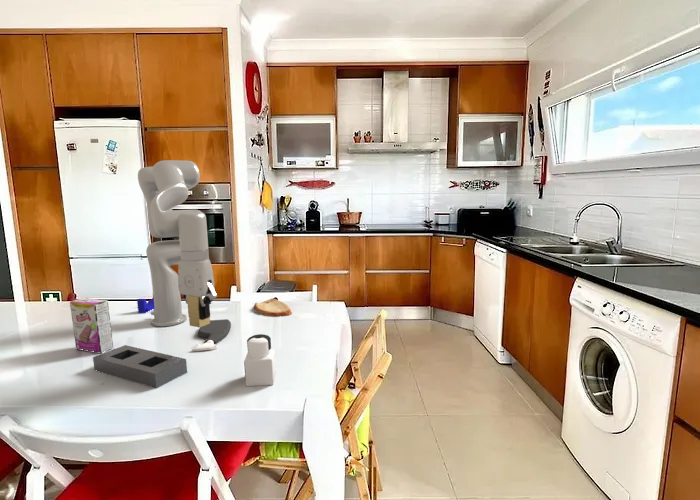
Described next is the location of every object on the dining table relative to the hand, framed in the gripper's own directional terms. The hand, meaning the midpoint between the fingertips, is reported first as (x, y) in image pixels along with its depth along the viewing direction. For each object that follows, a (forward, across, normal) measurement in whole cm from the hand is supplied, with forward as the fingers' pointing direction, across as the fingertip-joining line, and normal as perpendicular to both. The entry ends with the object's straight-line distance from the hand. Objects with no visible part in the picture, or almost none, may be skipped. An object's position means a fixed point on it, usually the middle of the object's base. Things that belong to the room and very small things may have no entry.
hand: (199, 316), depth 121 cm
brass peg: (+2, 0, 0) cm, 2 cm away
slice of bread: (+15, -13, +51) cm, 55 cm away
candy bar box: (+15, -40, -7) cm, 44 cm away
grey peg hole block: (+14, -11, -12) cm, 22 cm away
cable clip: (+16, -64, +31) cm, 73 cm away
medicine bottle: (+14, +24, -2) cm, 28 cm away
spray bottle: (+15, -12, +16) cm, 25 cm away
